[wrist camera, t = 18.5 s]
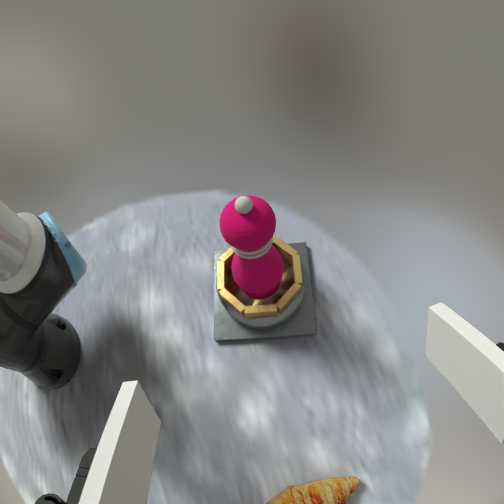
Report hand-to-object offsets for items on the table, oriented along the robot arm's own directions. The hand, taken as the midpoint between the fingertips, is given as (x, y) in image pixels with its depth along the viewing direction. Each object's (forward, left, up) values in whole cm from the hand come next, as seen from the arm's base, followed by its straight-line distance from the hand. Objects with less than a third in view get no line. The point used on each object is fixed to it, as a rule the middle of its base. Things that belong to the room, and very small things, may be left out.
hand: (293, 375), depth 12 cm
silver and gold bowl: (-3, +17, -36) cm, 40 cm away
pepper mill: (-3, +17, -31) cm, 35 cm away
